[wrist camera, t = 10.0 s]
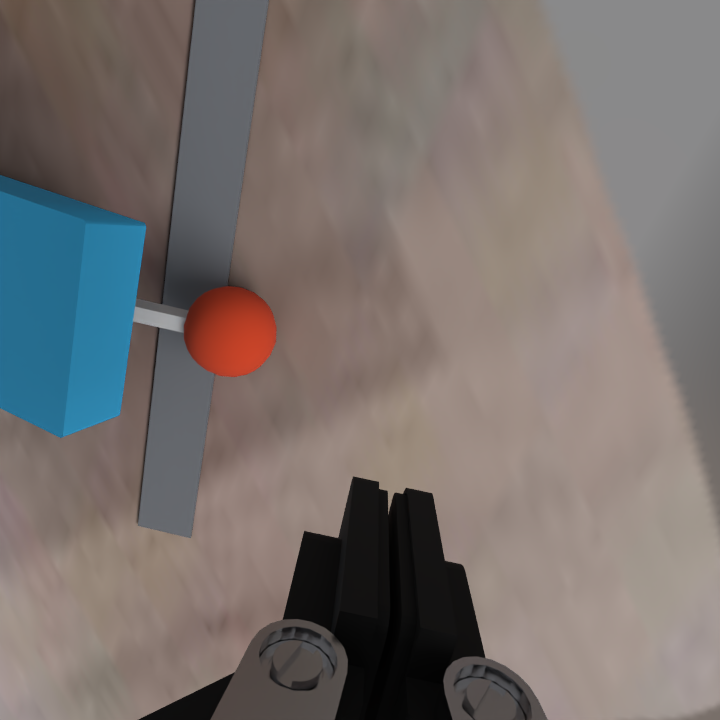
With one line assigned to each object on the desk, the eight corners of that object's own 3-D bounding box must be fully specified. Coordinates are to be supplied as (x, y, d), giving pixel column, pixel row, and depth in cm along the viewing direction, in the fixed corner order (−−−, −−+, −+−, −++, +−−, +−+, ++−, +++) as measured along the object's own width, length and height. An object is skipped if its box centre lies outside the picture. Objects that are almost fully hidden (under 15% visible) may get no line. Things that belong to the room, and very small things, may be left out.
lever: (-35, 287, 27) (272, 416, 23) (-219, 300, 21) (156, 484, 16) (-29, 145, 25) (310, 253, 21) (-229, 112, 19) (194, 257, 14)
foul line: (191, 536, 25) (190, 538, 25) (139, 524, 25) (137, 525, 25) (272, -28, 19) (272, -29, 19) (202, -44, 19) (201, -45, 19)
